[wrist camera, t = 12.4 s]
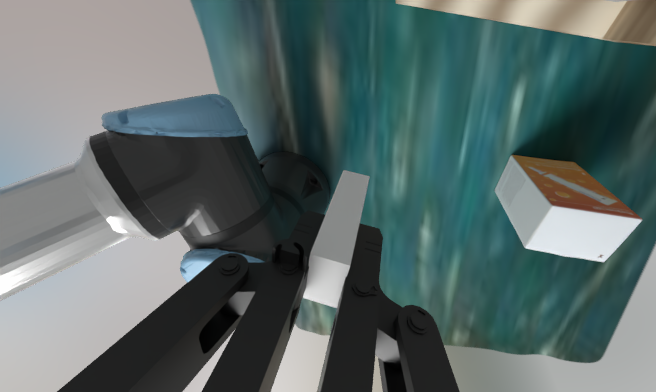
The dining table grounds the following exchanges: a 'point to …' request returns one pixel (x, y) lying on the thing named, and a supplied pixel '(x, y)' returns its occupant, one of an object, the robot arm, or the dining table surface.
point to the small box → (563, 209)
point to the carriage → (618, 0)
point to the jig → (562, 16)
